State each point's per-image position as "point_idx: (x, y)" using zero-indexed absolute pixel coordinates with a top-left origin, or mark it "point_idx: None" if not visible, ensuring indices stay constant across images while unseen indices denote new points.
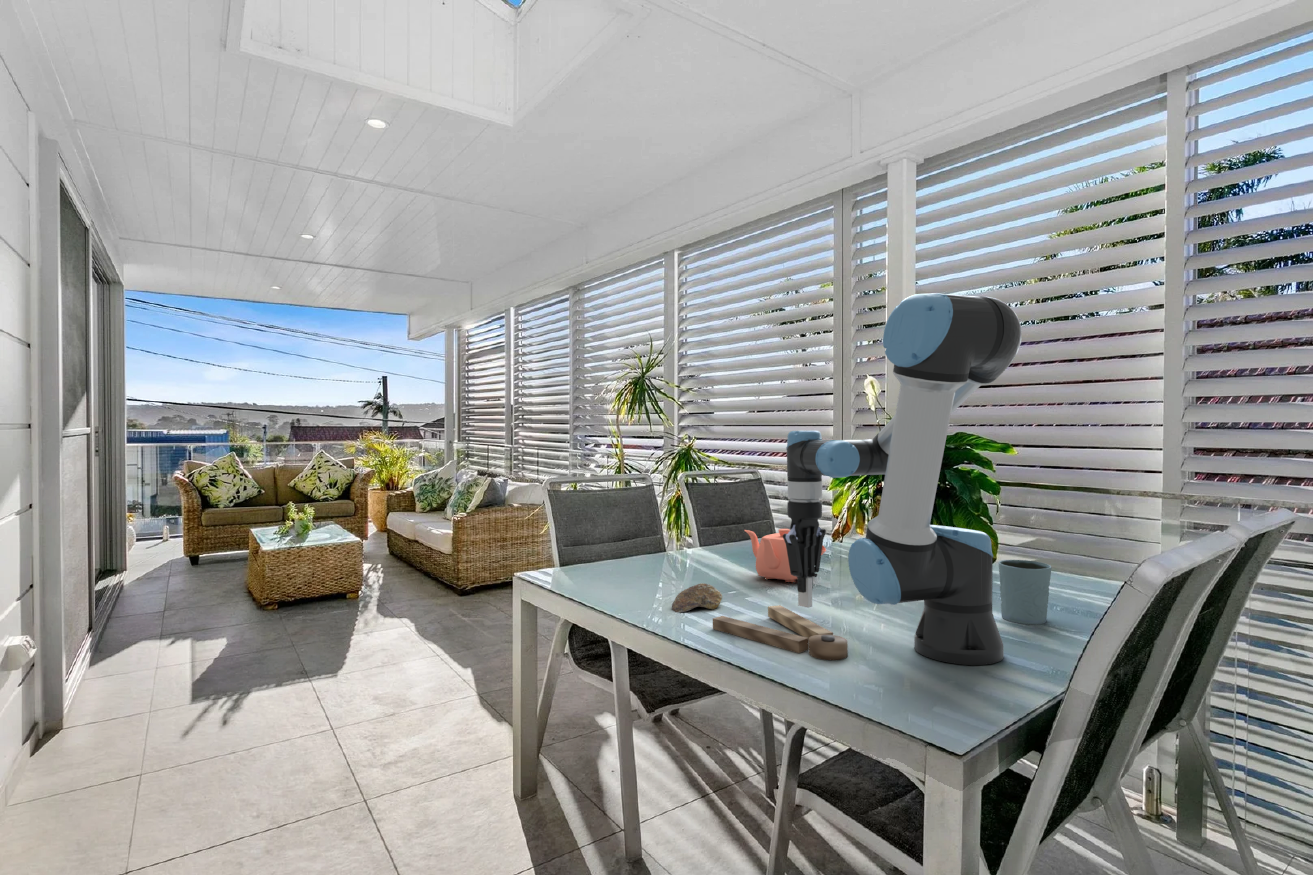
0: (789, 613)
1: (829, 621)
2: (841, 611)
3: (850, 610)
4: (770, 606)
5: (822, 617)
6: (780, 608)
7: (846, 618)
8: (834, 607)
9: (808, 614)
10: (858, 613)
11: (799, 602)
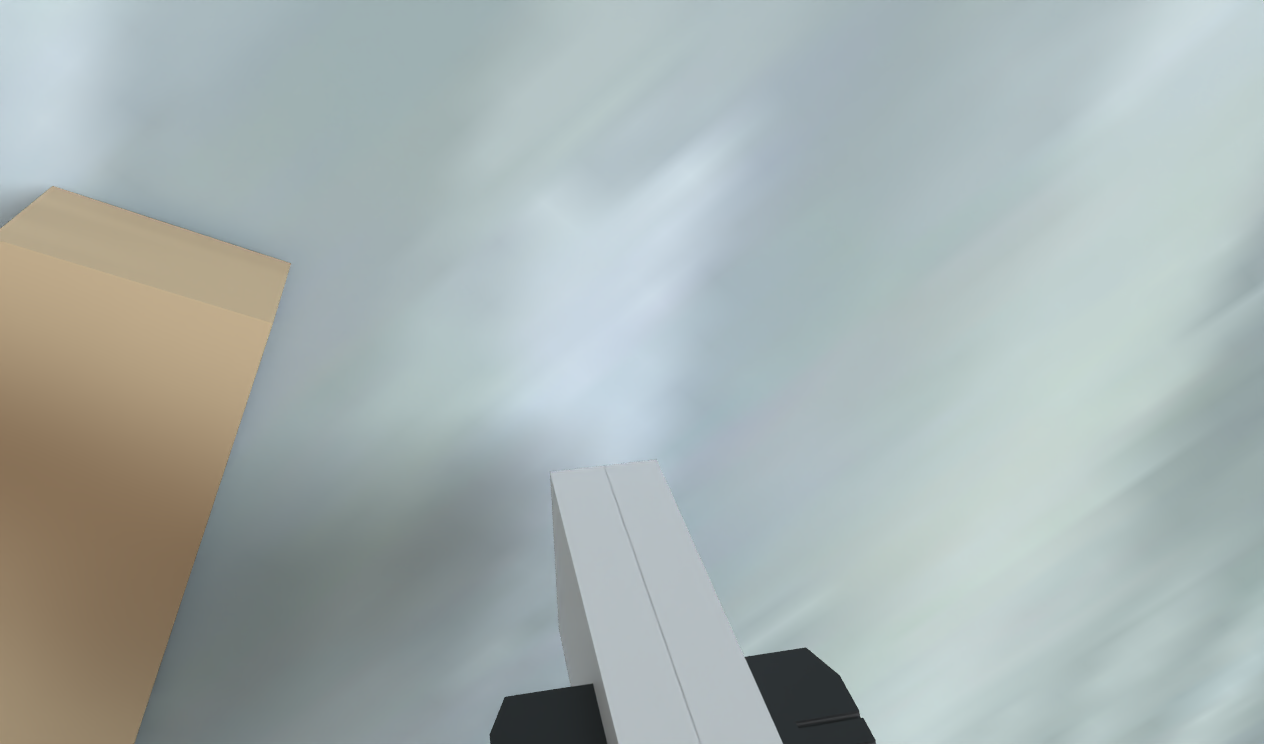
0: (33, 732)
1: None
2: (1065, 544)
3: (1155, 569)
4: (44, 263)
5: None
6: (113, 471)
7: None
8: (1186, 390)
9: (698, 416)
10: (1087, 679)
11: (558, 520)
